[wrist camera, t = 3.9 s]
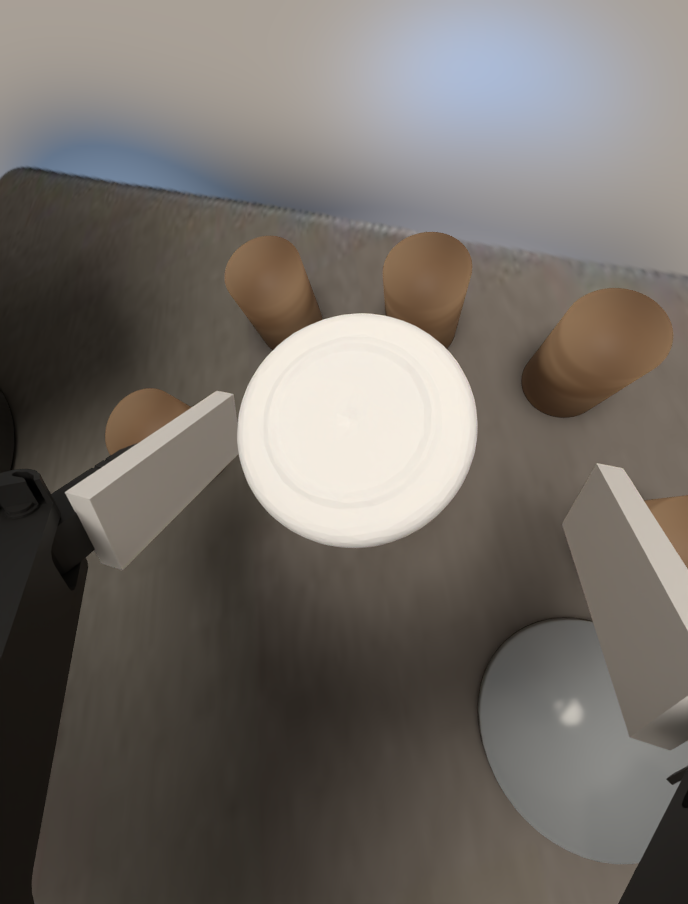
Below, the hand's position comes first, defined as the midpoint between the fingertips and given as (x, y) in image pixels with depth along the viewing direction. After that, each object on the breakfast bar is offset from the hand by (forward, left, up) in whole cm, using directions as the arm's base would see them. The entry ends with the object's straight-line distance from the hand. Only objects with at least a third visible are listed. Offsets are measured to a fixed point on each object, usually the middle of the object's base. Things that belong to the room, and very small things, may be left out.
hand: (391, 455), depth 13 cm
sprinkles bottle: (0, -1, -6) cm, 7 cm away
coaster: (+13, -5, -6) cm, 15 cm away
